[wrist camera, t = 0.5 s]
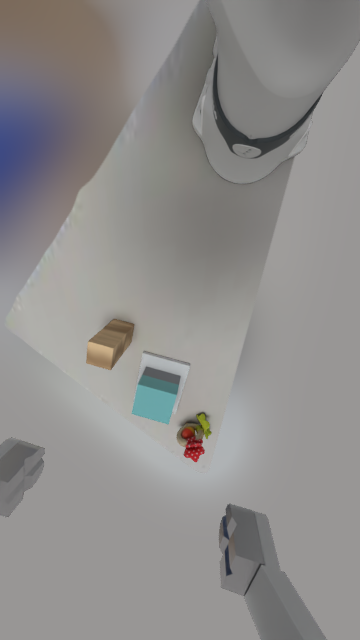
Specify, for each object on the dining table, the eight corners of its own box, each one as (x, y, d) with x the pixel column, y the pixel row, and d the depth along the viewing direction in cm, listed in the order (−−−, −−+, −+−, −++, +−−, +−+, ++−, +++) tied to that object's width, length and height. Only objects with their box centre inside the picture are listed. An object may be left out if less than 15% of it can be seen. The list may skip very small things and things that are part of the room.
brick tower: (143, 351, 53) (133, 369, 46) (190, 363, 53) (187, 384, 45) (134, 399, 59) (123, 422, 52) (176, 411, 59) (171, 436, 51)
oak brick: (114, 318, 51) (87, 341, 40) (134, 324, 51) (113, 348, 40) (112, 336, 53) (86, 363, 42) (131, 342, 53) (110, 370, 41)
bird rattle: (192, 426, 63) (220, 430, 57) (173, 461, 54) (203, 471, 49) (184, 410, 61) (211, 413, 56) (163, 444, 53) (193, 452, 47)
